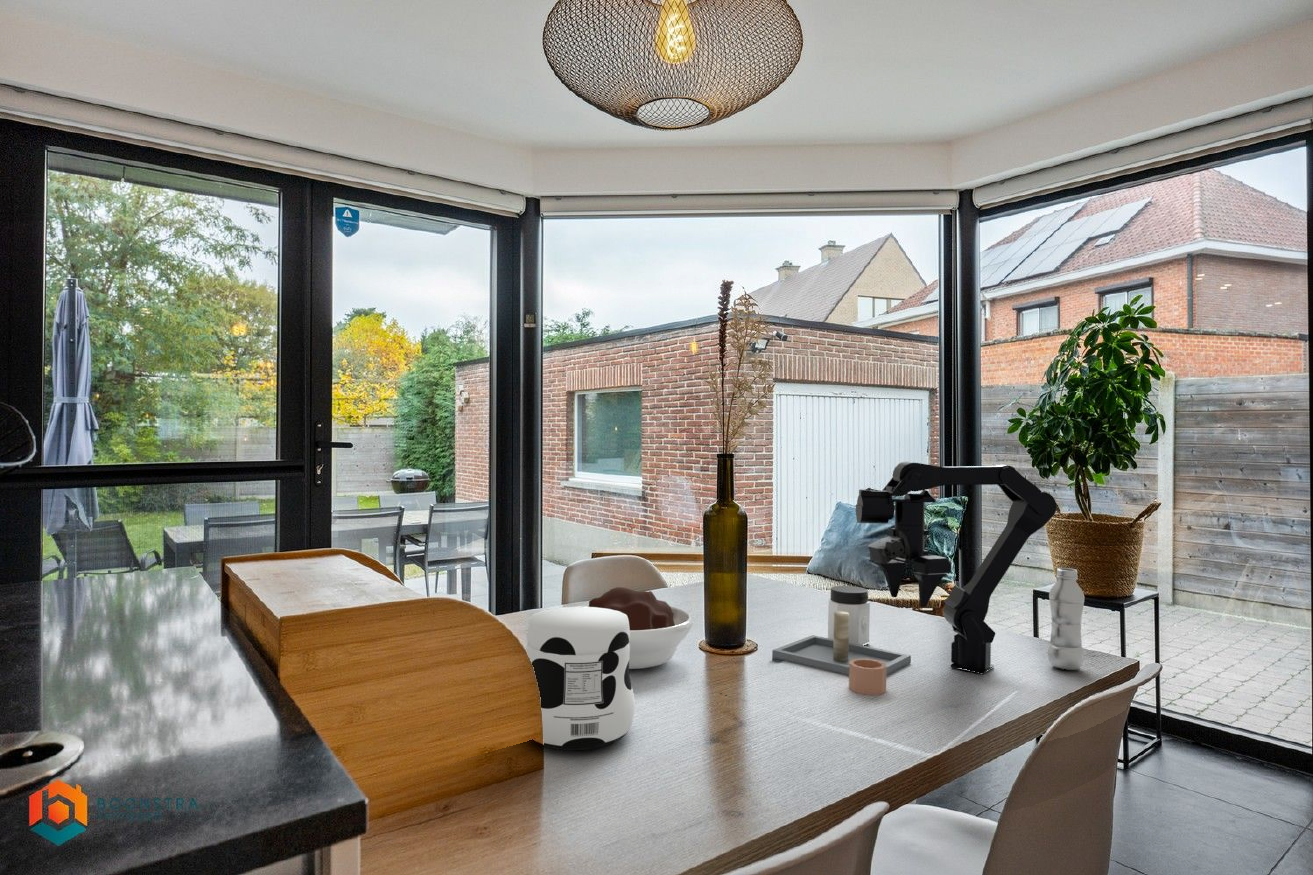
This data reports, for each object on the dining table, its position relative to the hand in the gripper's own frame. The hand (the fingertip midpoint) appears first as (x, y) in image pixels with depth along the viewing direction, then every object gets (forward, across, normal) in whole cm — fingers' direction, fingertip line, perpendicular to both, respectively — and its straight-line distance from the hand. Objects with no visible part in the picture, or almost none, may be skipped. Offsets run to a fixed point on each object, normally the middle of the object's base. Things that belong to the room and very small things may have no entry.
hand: (908, 601), depth 155 cm
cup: (+13, +11, -17) cm, 24 cm away
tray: (+13, -6, -12) cm, 18 cm away
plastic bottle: (+13, +10, +30) cm, 35 cm away
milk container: (+13, +16, -72) cm, 75 cm away
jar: (+13, -19, -2) cm, 23 cm away
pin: (+12, -6, -12) cm, 18 cm away
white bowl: (+13, -18, -53) cm, 58 cm away
